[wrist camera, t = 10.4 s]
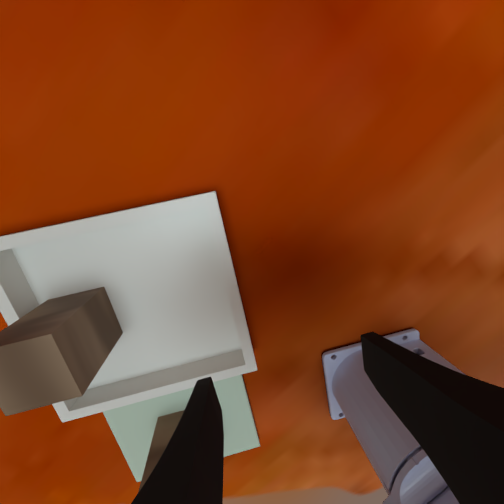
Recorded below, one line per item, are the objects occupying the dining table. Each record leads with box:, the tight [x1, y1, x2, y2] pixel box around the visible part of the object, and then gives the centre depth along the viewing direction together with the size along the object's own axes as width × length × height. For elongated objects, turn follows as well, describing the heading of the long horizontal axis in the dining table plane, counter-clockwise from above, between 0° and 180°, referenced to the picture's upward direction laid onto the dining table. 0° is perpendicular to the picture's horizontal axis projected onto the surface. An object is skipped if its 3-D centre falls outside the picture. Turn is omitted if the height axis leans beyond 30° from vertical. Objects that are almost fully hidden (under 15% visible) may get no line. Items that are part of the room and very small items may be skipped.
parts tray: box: [0, 191, 257, 422], centre depth 18 cm, size 15×14×2 cm
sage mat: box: [103, 374, 260, 482], centre depth 23 cm, size 12×9×1 cm
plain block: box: [0, 287, 123, 416], centre depth 16 cm, size 4×4×6 cm
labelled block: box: [138, 410, 184, 493], centre depth 19 cm, size 4×4×6 cm
